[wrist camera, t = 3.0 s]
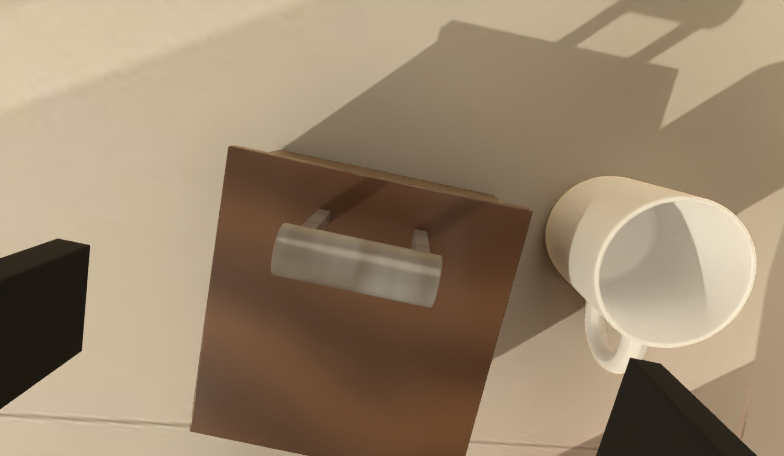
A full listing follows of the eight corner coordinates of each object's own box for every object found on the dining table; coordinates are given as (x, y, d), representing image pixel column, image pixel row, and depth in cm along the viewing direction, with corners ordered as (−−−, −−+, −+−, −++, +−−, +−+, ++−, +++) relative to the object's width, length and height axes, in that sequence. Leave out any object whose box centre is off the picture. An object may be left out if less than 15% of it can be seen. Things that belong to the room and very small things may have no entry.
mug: (629, 340, 37) (710, 421, 27) (520, 323, 37) (562, 398, 27) (672, 183, 35) (779, 209, 25) (556, 165, 35) (616, 183, 25)
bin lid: (233, 145, 25) (144, 157, 17) (529, 208, 26) (590, 252, 17) (195, 423, 29) (104, 550, 20) (455, 477, 29) (475, 625, 21)
